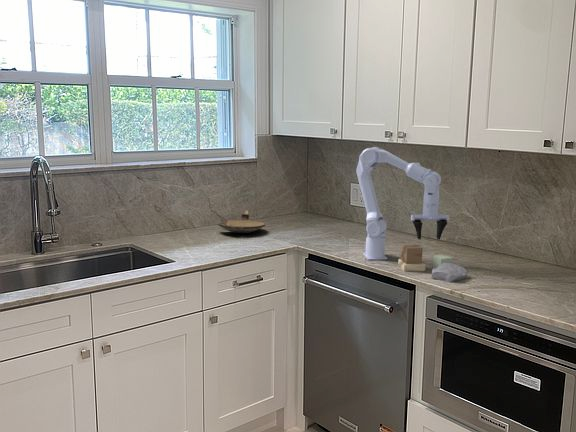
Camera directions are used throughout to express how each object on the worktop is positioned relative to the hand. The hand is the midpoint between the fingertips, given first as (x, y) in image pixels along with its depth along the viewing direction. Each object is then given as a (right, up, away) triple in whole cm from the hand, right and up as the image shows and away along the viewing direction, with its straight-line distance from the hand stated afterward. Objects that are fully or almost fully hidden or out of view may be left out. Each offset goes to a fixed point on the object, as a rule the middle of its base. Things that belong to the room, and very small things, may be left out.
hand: (428, 238), depth 218 cm
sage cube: (+4, -11, -6) cm, 13 cm away
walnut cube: (-8, -8, -5) cm, 13 cm away
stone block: (+4, -14, -16) cm, 21 cm away
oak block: (-8, -11, -5) cm, 14 cm away
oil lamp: (-75, +1, +55) cm, 93 cm away
